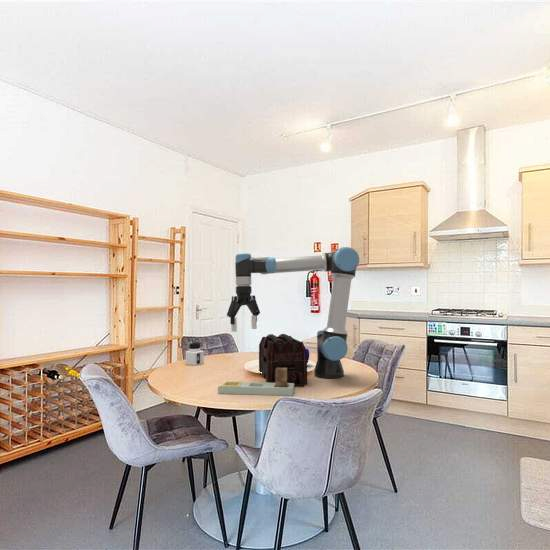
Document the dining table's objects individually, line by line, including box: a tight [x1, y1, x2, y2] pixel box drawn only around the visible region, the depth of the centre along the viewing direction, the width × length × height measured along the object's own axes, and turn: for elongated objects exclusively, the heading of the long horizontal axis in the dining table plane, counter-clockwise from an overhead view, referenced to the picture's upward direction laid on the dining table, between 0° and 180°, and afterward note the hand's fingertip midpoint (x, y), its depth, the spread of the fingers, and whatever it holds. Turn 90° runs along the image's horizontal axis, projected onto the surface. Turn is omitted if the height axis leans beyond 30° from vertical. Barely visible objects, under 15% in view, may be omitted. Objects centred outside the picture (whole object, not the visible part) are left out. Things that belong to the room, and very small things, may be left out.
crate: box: [258, 333, 308, 388], centre depth 196 cm, size 35×19×21 cm, turn 11°
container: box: [185, 341, 205, 366], centre depth 237 cm, size 8×8×13 cm
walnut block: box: [275, 368, 287, 387], centre depth 170 cm, size 4×4×9 cm
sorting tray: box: [217, 380, 295, 397], centre depth 172 cm, size 32×9×3 cm, turn 82°
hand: (244, 330), depth 189 cm, fingers open, 13 cm apart
